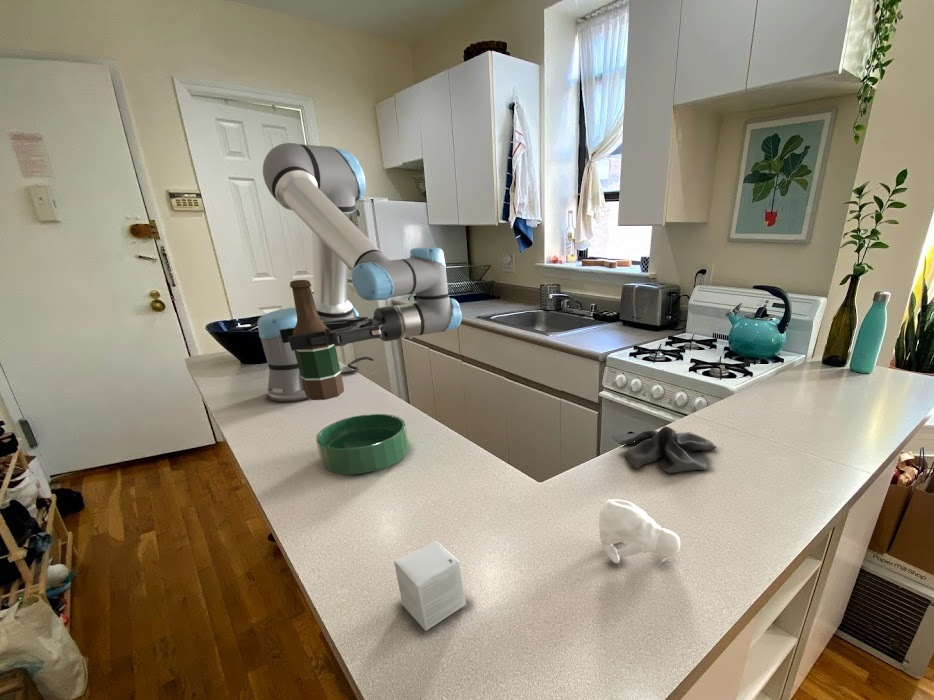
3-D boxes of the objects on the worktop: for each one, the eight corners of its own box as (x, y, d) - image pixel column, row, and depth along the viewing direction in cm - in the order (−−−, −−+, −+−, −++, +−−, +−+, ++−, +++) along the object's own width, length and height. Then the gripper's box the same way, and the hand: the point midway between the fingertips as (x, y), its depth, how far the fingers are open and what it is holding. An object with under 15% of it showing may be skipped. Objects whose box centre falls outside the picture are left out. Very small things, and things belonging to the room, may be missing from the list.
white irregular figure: (604, 487, 69) (686, 503, 67) (598, 533, 73) (675, 549, 70) (598, 512, 63) (688, 530, 61) (591, 560, 67) (676, 578, 65)
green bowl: (348, 436, 107) (343, 413, 104) (420, 438, 105) (417, 414, 103) (305, 475, 91) (297, 448, 89) (389, 478, 90) (384, 450, 87)
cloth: (717, 439, 102) (720, 414, 100) (713, 481, 86) (718, 452, 84) (618, 426, 109) (619, 402, 107) (598, 463, 93) (598, 436, 91)
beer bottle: (307, 391, 103) (279, 279, 93) (345, 386, 105) (322, 277, 96) (304, 403, 96) (274, 284, 86) (344, 397, 99) (319, 281, 89)
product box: (442, 581, 64) (436, 538, 61) (467, 605, 60) (461, 561, 57) (401, 605, 60) (392, 560, 57) (424, 633, 56) (416, 586, 53)
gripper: (417, 346, 100) (302, 368, 87) (382, 331, 115) (279, 348, 101) (412, 312, 97) (292, 329, 84) (377, 300, 112) (270, 314, 98)
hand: (285, 339), depth 93 cm, fingers closed on beer bottle, 7 cm apart
